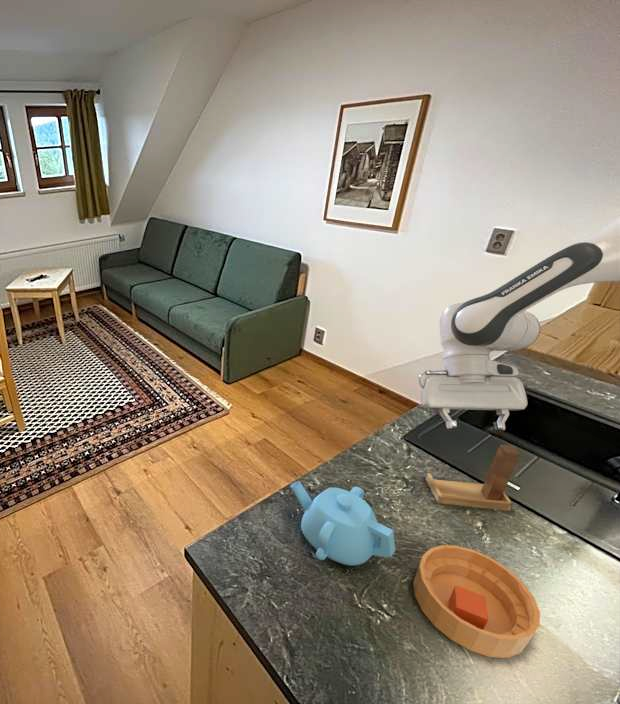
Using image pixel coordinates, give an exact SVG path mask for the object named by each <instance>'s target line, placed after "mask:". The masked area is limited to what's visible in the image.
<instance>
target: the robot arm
mask: <svg viewBox="0 0 620 704" xmlns="http://www.w3.org/2000/svg"><path fill="white" fill-rule="evenodd" d="M605 282H606V283H607V282H608V283H609V282H611V283H612V282H620V215H619V216H617V217H615V218H614V219H613V220H611V221H610V222H607V224H605V225H603V226H602V227H600V228H599V229H597V230H596V231H594V232H592V233H591V234H589V235H588V236H586V237H584V238H582V239H580V240H578V241H577V242H575V243H573V244H571V245H569V246H566V247H565V248H563V249H561V250H558V251H557V252H555V253H553V254H552V255H550V256H548V257H546V258H545V259H543V260H541V261H540V262H538V263H537V264H534V265H533V266H531V267H530V268H529V269H527V270H525V271H524V272H522V273H520V274H519V275H517V276H515V277H514V278H513V279H511V280H509V281H508V282H506V283H504V284H502V285H501V286H499V287H498V288H496V289H494V290H493V291H490V292H489V293H486V294H483V295H481V296H478V297H475V298H472V299H469V300H467V301H465V302H460V303H459V302H458V303H456V304H455V303H454V304H452V305H450V306H448V307H446V308H445V309H444V310H443V311H442V312H441V314H440V316H439V323H438V325H439V327H438V328H439V339H440V340H439V341H440V345H441V347H442V350H443V356H442V362H443V363H442V364H443V369H442V370H441V369H440V370H430V369H429V370H425V371H423V372H421V373H420V374H419V376H418V383H419V386H420V405H421V406H422V407H423V408H424V409H427V410H438V414H439V415H440V416H441V418H442V419H443V420H444V421H445V425H446V429H447V430H448V429H450V430H456V429H458V425H457V424H458V423H457V420H453V419H452V418H451V417H450V413H451V410H462V411H463V410H464V411H465V410H466V411H467V410H469V411H470V410H471V411H495V413H496V416H498V418H497V420H496V421H494V422H493V421H492V426H493V428H492V429H493V430H494V431H505V430H506V422H507V420H508V418H509V416H510V412H511V411H514V412H516V411H522V410H525V409H526V408H527V406H528V397H527V394H526V393H527V392H526V390H525V387H524V384H523V382H522V381H521V380H520V378H518V377H516V376H518V375H519V369H518V367H517V366H515V365H510V364H506V363H502V362H499V361H495V360H492V359H491V358H490V353H491V352H497V351H498V352H513V351H520V350H524V349H526V348H528V347H531V346H532V345H533V344H534V343H535V342H536V341H537V339H538V338H539V335H540V332H541V324H540V321H539V319H538V318H537V317H536V315H534V314H533V313H531V312H529V311H527V310H529V309H530V308H533V307H534V306H536V305H537V304H539V303H541V302H543V301H544V300H546V299H548V298H549V297H551V296H553V295H555V294H558V293H559V292H561V291H563V290H567V289H568V288H569V289H570V288H572V287H575V286H581V285H587V284H594V283H605Z"/></svg>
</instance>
